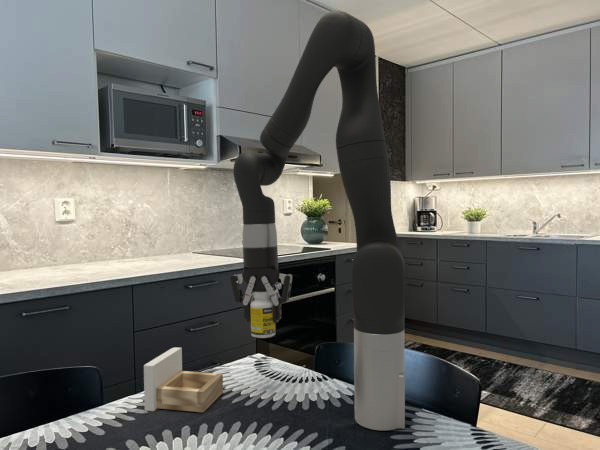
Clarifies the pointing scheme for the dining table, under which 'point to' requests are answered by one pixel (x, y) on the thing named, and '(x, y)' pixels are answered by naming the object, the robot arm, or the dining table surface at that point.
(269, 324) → the supplement bottle
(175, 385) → the socket block
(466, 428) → the dining table surface
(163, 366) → the backstop board
